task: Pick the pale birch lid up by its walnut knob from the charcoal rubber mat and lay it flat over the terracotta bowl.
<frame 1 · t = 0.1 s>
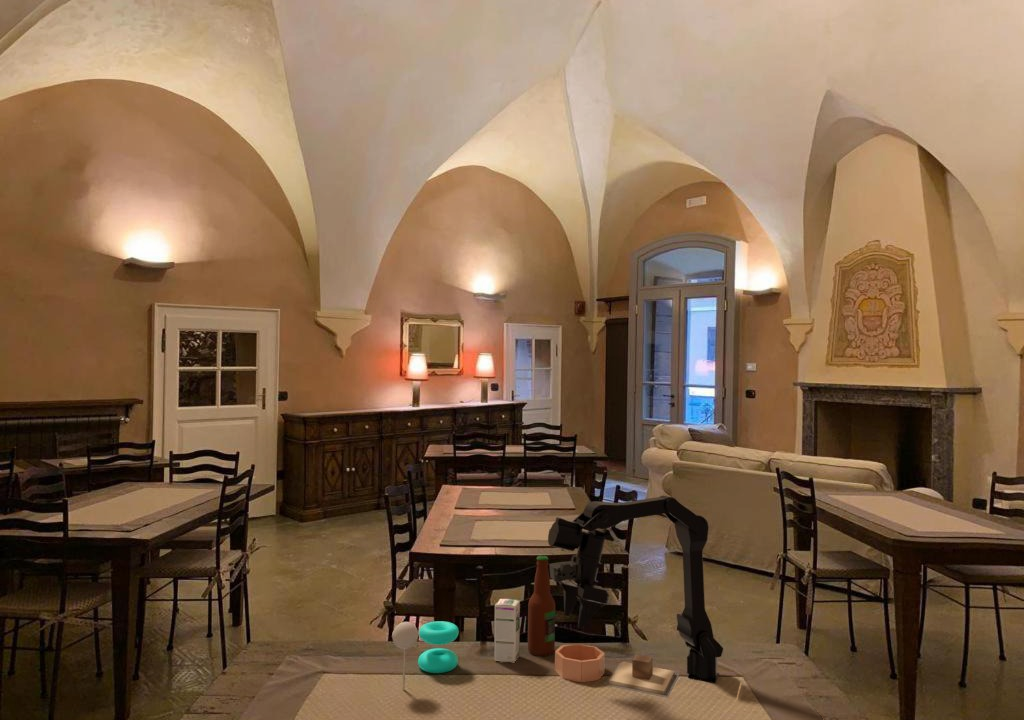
hand: (573, 621, 148), 15 cm above the table, tool pointing down, fingers open, 9 cm apart
bottle: (541, 652, 170), on the table
donuts: (437, 667, 159), on the table
lollipop: (403, 690, 145), on the table
lid: (642, 678, 153), resting on mat
bowl: (579, 673, 156), on the table
syrup box: (506, 659, 165), on the table
mat: (642, 680, 153), on the table
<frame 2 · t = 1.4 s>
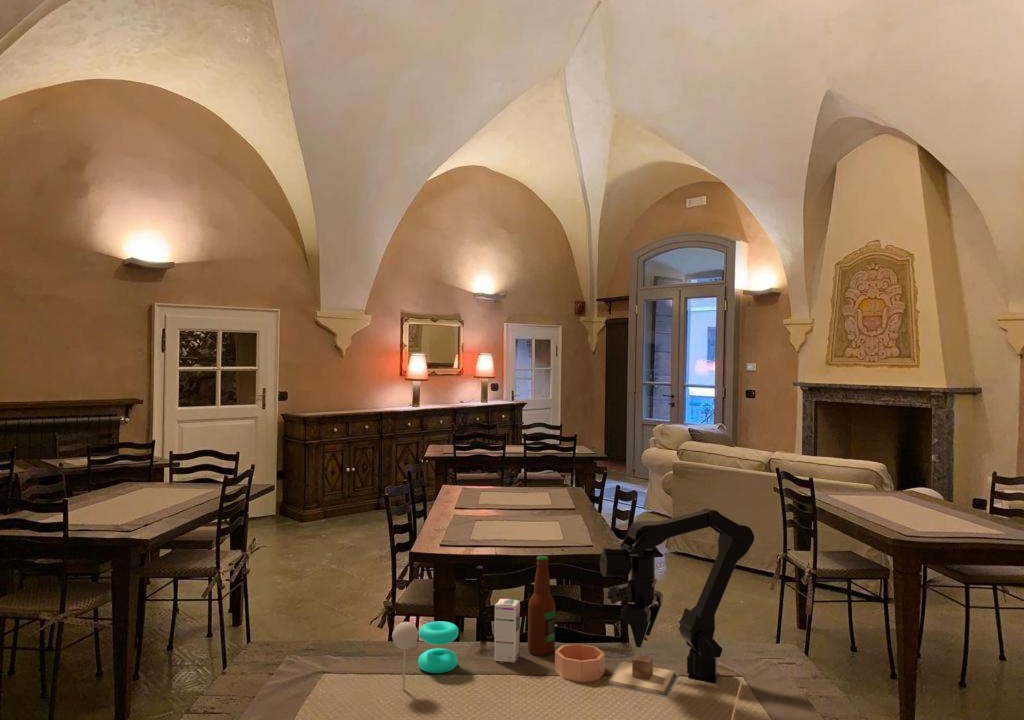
hand: (643, 641, 154), 9 cm above the table, tool pointing down, fingers open, 9 cm apart
nothing on the table moved.
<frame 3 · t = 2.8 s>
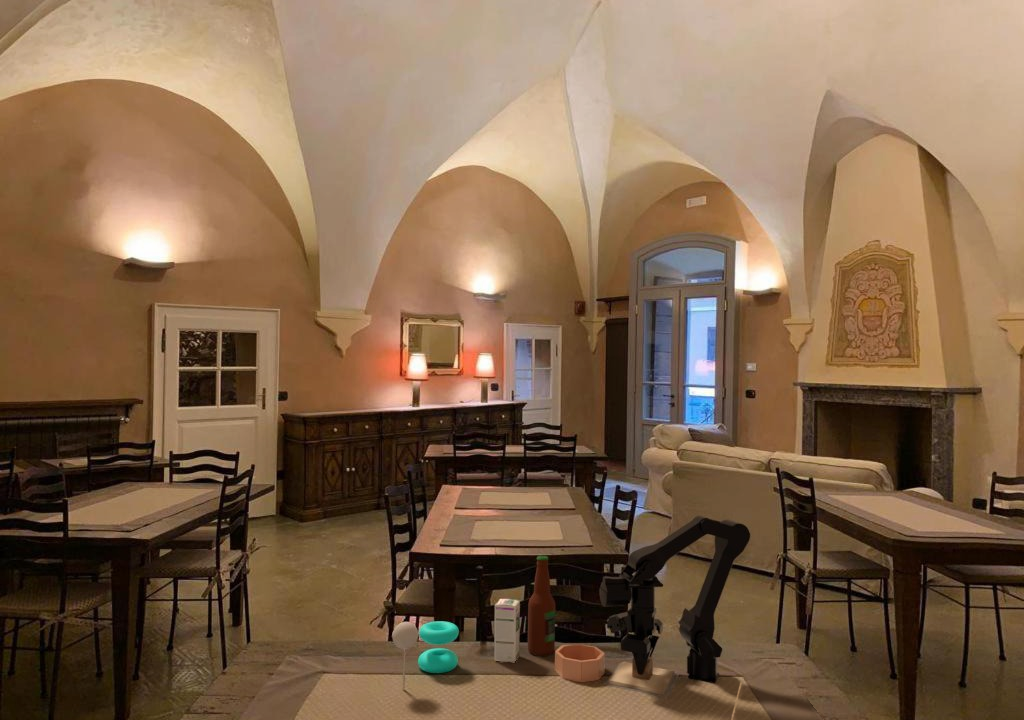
hand: (642, 671, 153), 2 cm above the table, tool pointing down, fingers closed on lid, 4 cm apart
lid: (642, 678, 153), resting on mat, touching gripper
everything else where it was.
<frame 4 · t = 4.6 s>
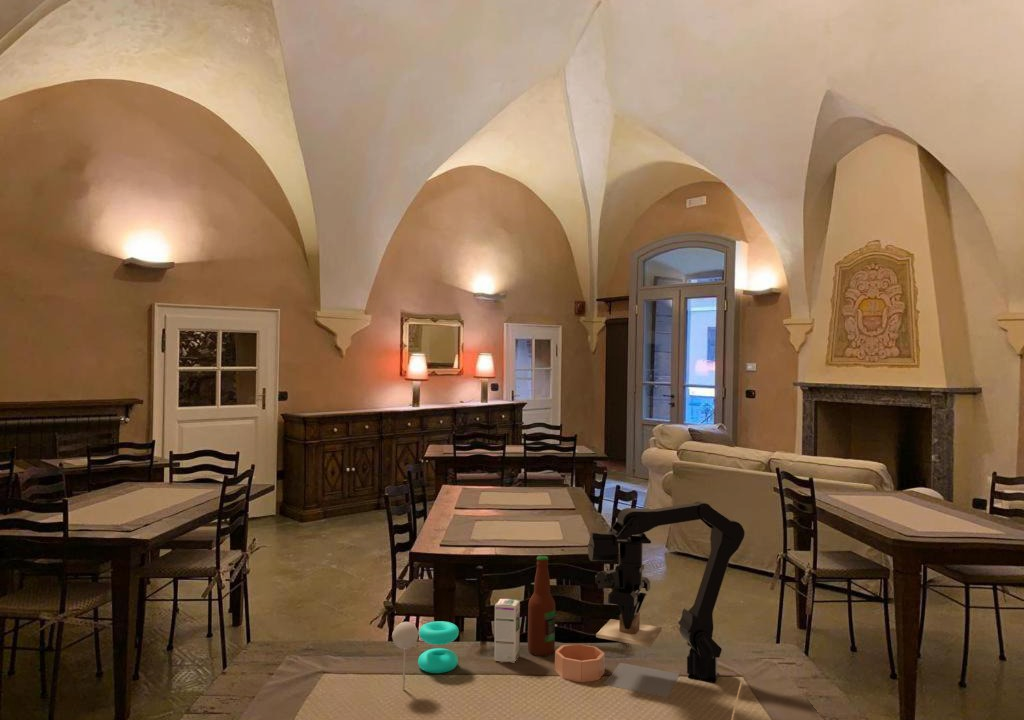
hand: (629, 626, 154), 12 cm above the table, tool pointing down, fingers closed on lid, 4 cm apart
lid: (629, 633, 154), point 11 cm above the table, touching gripper
everything else where it was.
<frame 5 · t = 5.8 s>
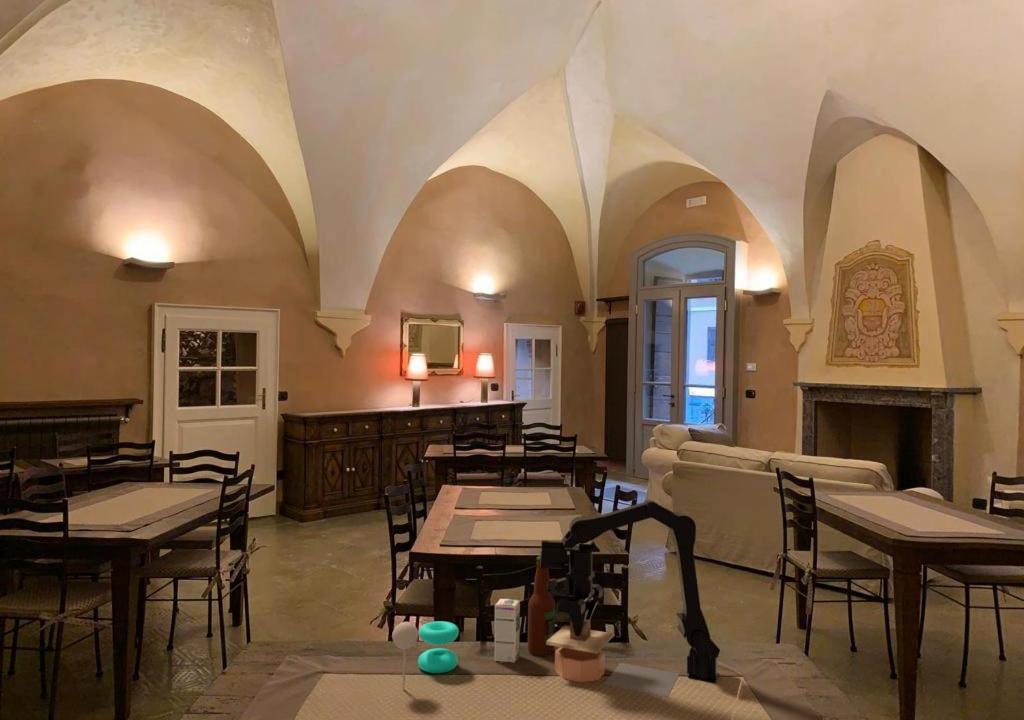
hand: (580, 633, 157), 10 cm above the table, tool pointing down, fingers closed on lid, 4 cm apart
lid: (580, 640, 157), point 8 cm above the table, touching gripper
everything else where it was.
when the fingers open (8 cm above the table, at t = 6.8 s): lid drops 1 cm, resting on bowl.
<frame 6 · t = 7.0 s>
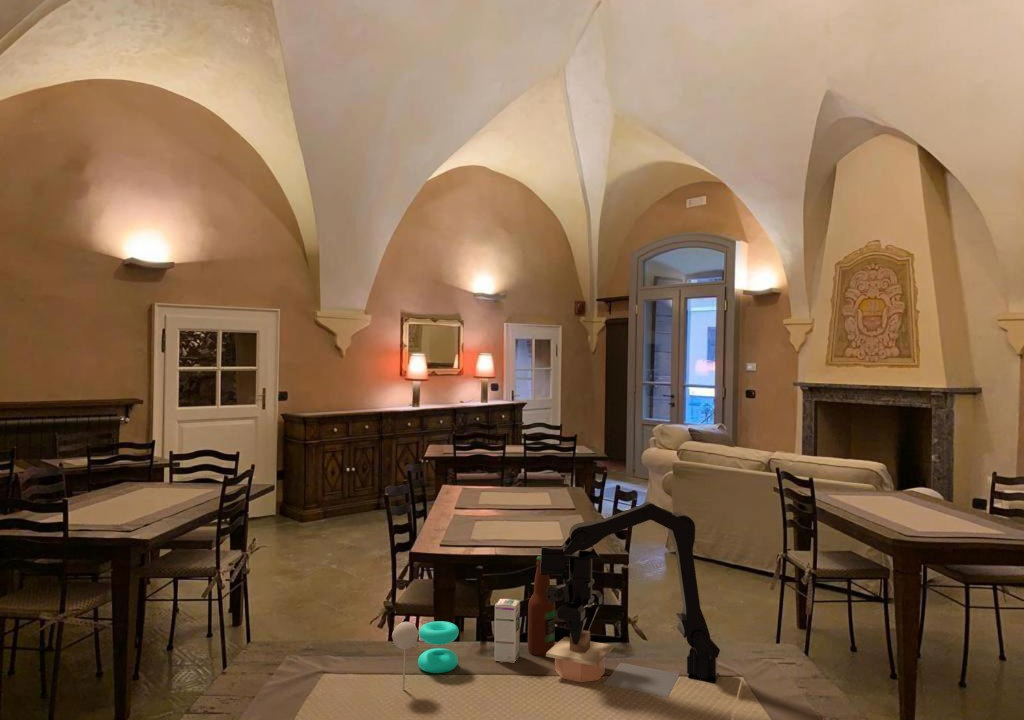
hand: (580, 639, 157), 8 cm above the table, tool pointing down, fingers open, 6 cm apart
lid: (579, 652, 157), point 5 cm above the table, touching bowl
everything else where it was.
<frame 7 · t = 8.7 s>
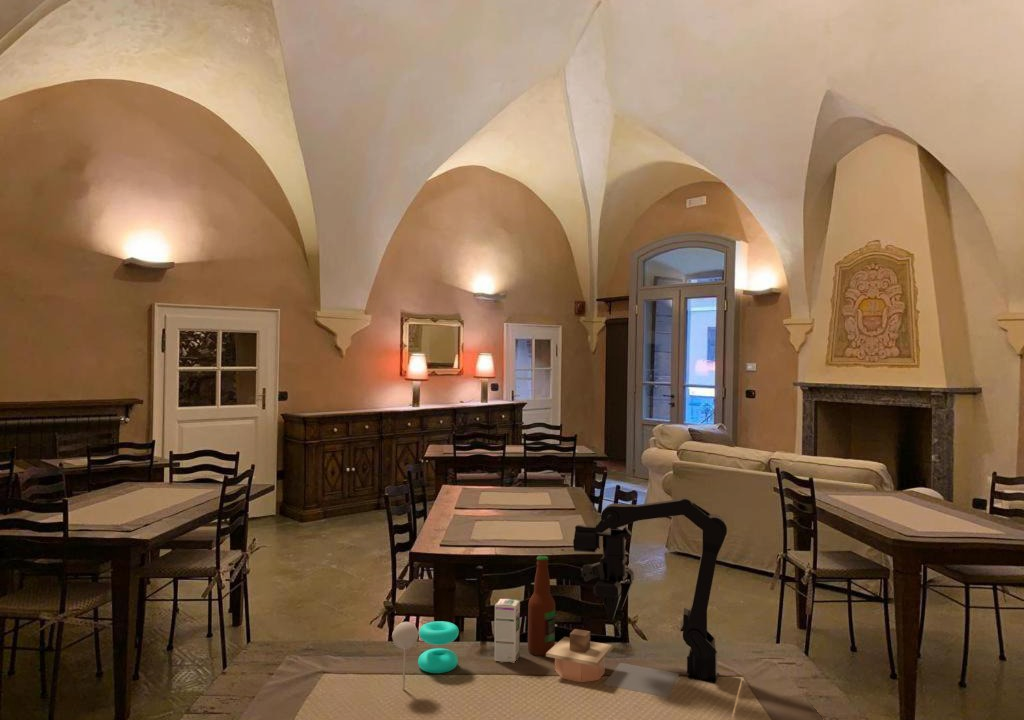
hand: (615, 615, 163), 12 cm above the table, tool pointing down, fingers open, 9 cm apart
nothing on the table moved.
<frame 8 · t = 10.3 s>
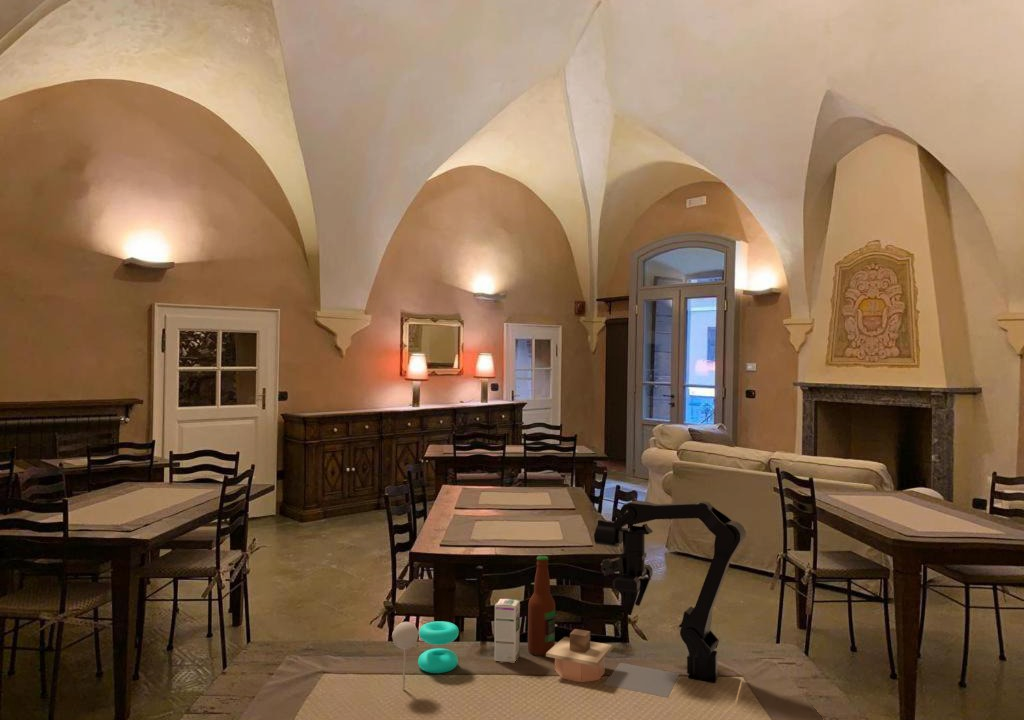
hand: (633, 610, 166), 13 cm above the table, tool pointing down, fingers open, 9 cm apart
nothing on the table moved.
at the end: lid 0.0 cm off-centre on the bowl, point 5.0 cm above the bowl's base; lid tilted 0°; the gripper is holding nothing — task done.
